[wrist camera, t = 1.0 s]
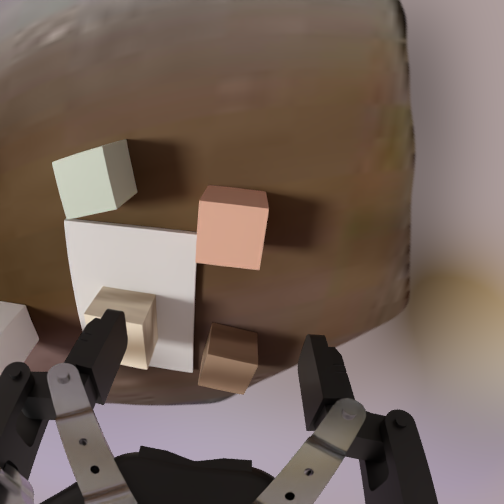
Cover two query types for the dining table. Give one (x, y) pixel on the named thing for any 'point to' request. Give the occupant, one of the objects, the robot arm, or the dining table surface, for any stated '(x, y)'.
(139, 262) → the mat
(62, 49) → the dining table surface
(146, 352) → the birch block
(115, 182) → the sage block
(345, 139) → the dining table surface
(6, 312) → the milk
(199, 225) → the terracotta block
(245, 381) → the walnut block
